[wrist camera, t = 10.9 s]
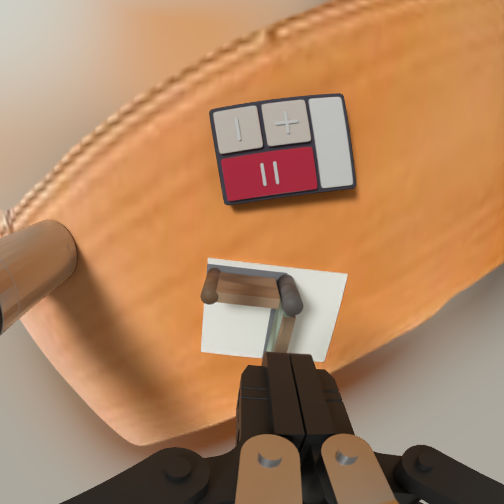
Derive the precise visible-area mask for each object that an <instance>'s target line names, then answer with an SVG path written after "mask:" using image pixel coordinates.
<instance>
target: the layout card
mask: <svg viewBox="0 0 504 504" xmlns="http://www.w3.org/2000/svg"><path fill="white" fill-rule="evenodd" d="M211 268H218V269H219V270H220V271H221V272H225V273H233V274H242V275H251V276H259V277H268V278H275V280H276V284H277V281H278V279H279V277H280V276H282V275H285V274H288V275H291V276H292V277H293V279H294V281H295V284H296V286H297V289H298V292H299V294H300V297H301V299H302V302H303V310H302V312H301V313H300V314H298V315H296V320H295V324H294V328H293V332H292V335H291V339H290V343H289V347H288V350H287V353H298V354H311V355H312V358H313V361H316V362H324V361H325V357H326V354H327V351H328V347H329V344H330V341H331V337H332V334H333V330H334V326H335V323H336V319H337V315H338V312H339V308H340V304H341V300H342V296H343V292H344V288H345V284H346V280H347V276H348V274H347V273H338V272H329V271H320V270H311V269H302V268H293V267H285V266H276V265H267V264H259V263H250V262H242V261H233V260H225V259H216V258H208V265H207V273H208V271H209V270H210V269H211ZM206 277H207V276H206ZM277 288H278V285H277ZM278 292H279V289H278ZM275 311H276V309H274V308H264V307H255V306H245V305H236V304H228V303H219V302H215V303H214V304H211V305H208V304H205V303H204V314H203V328H202V343H201V352H208V353H216V354H225V355H234V356H244V357H255V358H263V355H264V353H265V351H266V350H267V346H268V342H269V337H270V333H271V329H272V324H273V320H274V315H275Z"/></svg>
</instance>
